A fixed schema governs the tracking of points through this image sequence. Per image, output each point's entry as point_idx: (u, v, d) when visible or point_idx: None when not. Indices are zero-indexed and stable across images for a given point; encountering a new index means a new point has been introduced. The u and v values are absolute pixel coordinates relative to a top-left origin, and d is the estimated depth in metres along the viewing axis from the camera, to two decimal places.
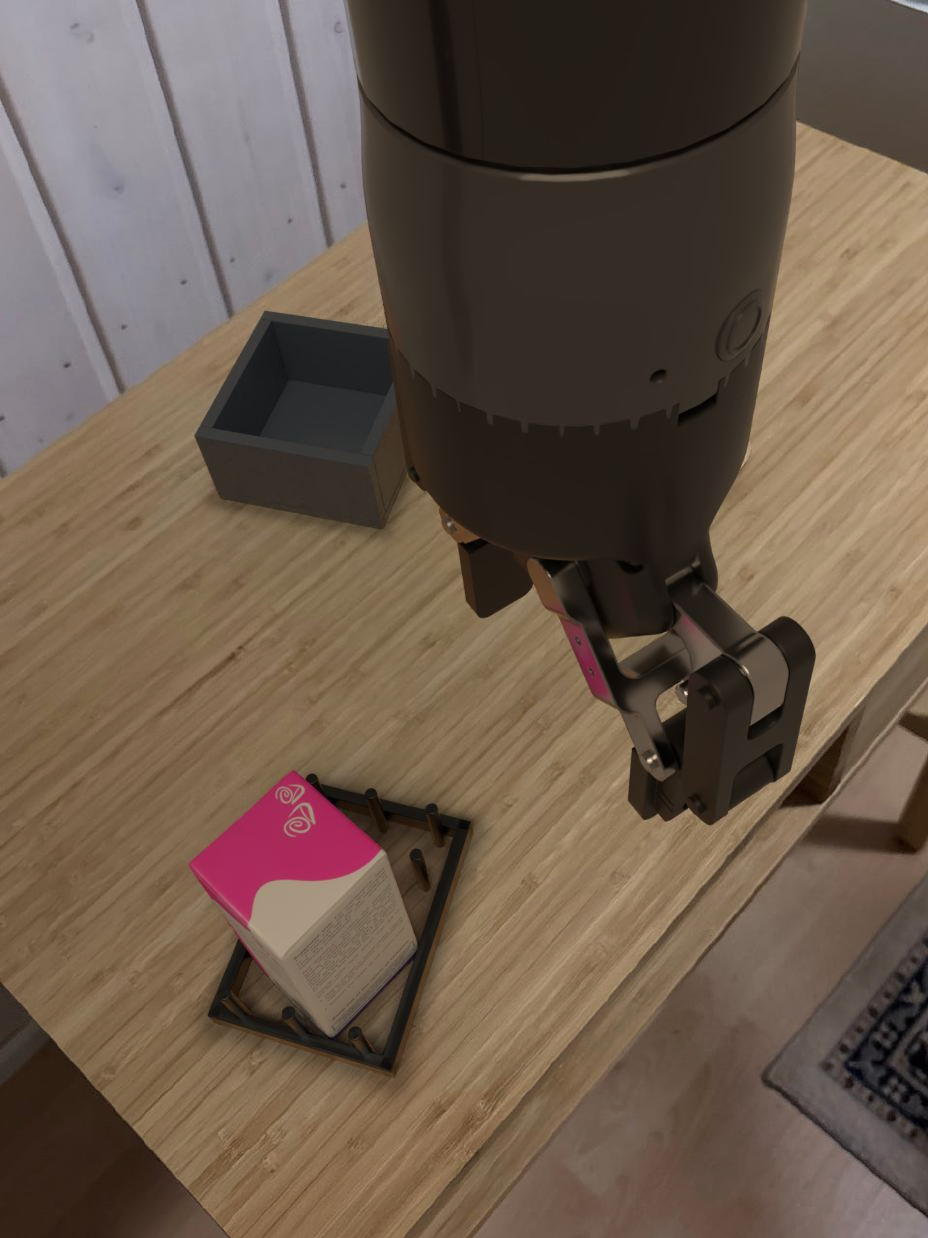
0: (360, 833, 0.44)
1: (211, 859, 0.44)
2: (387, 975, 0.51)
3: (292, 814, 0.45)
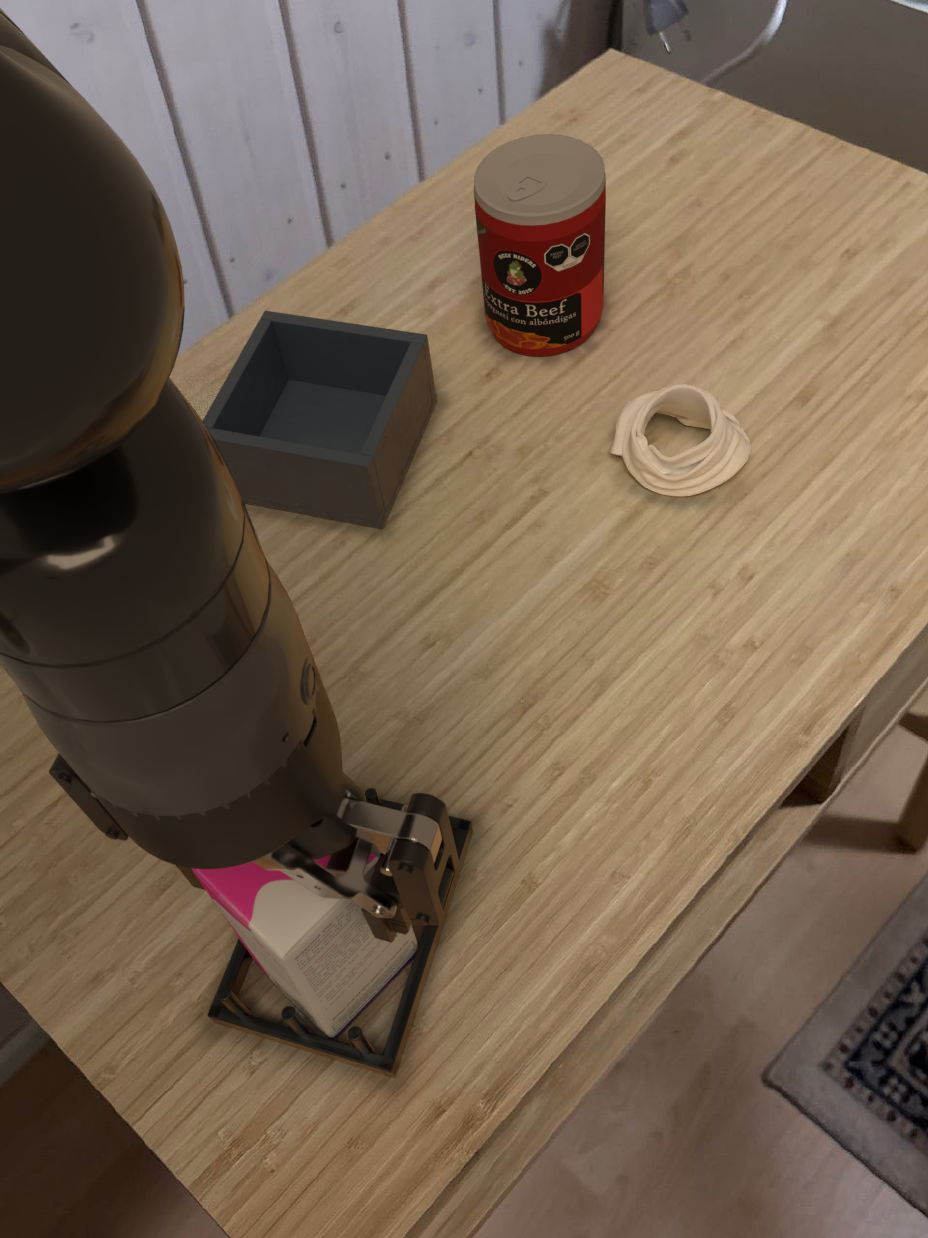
0: None
1: None
2: (387, 975, 0.51)
3: None
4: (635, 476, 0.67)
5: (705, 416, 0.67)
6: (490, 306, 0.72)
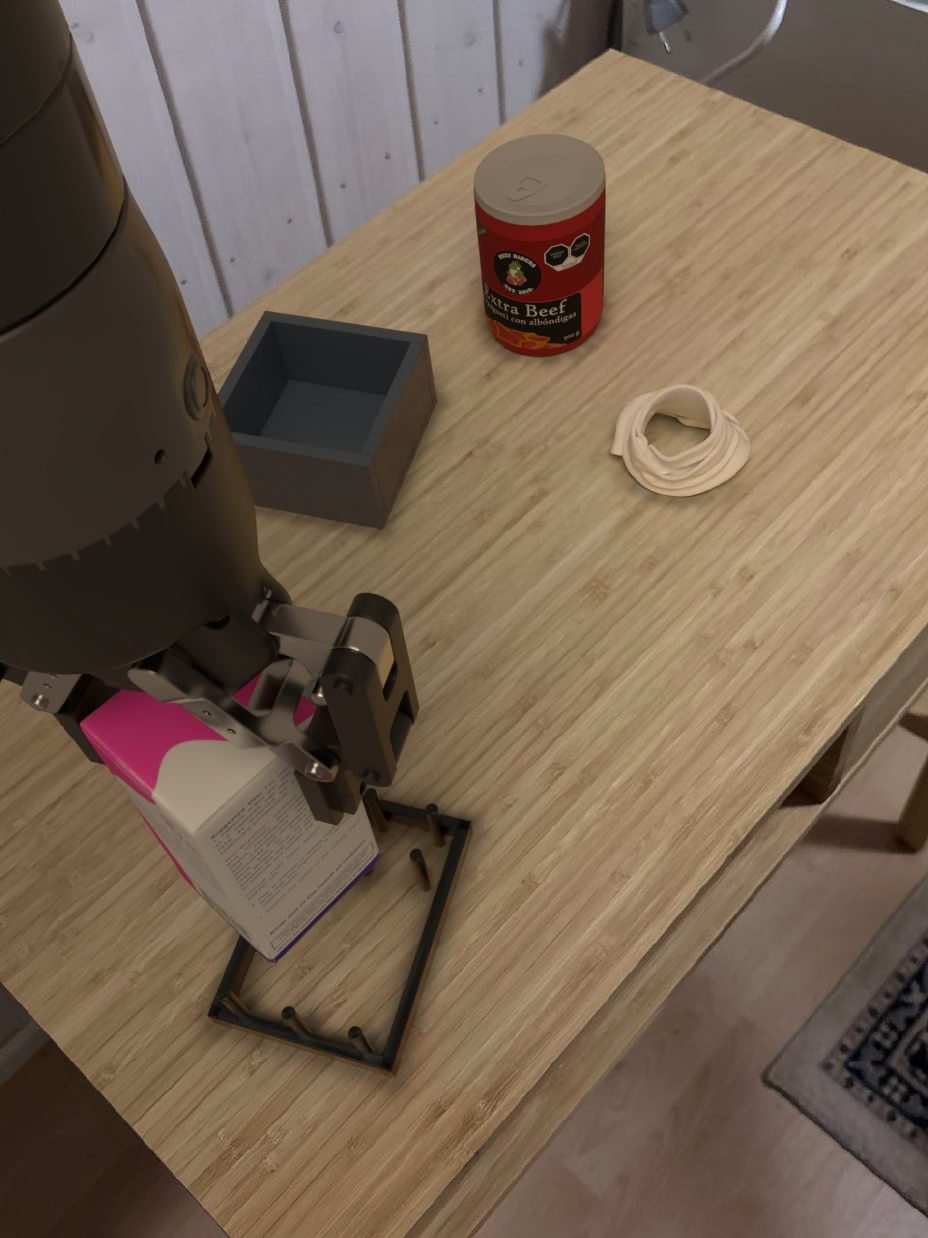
0: None
1: (108, 717, 0.35)
2: (340, 883, 0.42)
3: None
4: (635, 476, 0.67)
5: (705, 416, 0.67)
6: (490, 306, 0.72)
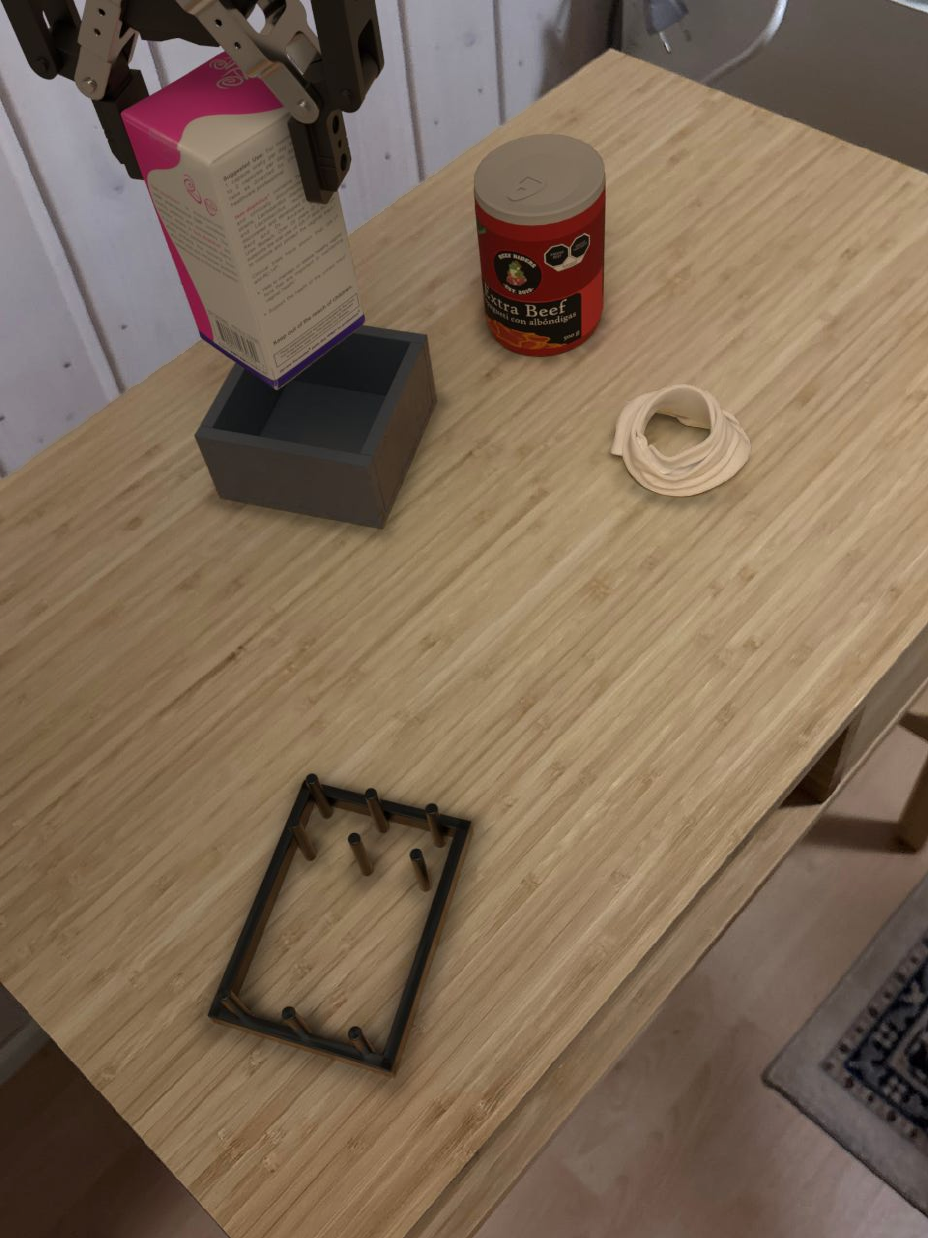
0: None
1: (143, 107, 0.44)
2: (331, 326, 0.51)
3: (225, 75, 0.45)
4: (635, 476, 0.67)
5: (705, 416, 0.67)
6: (490, 306, 0.72)
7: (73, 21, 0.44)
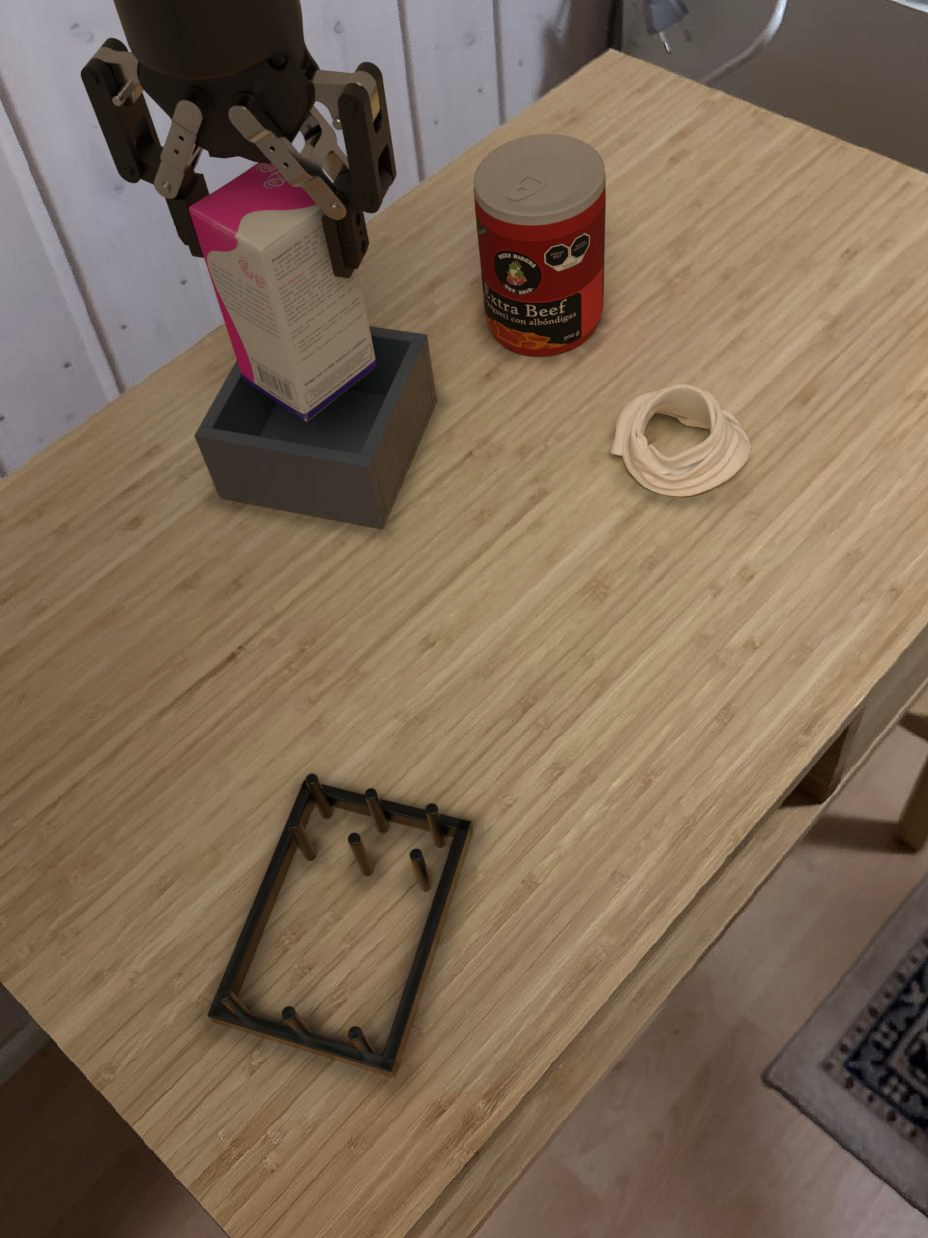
0: None
1: (206, 203, 0.56)
2: (349, 369, 0.64)
3: (270, 177, 0.57)
4: (635, 476, 0.67)
5: (705, 416, 0.67)
6: (490, 306, 0.72)
7: (152, 138, 0.56)
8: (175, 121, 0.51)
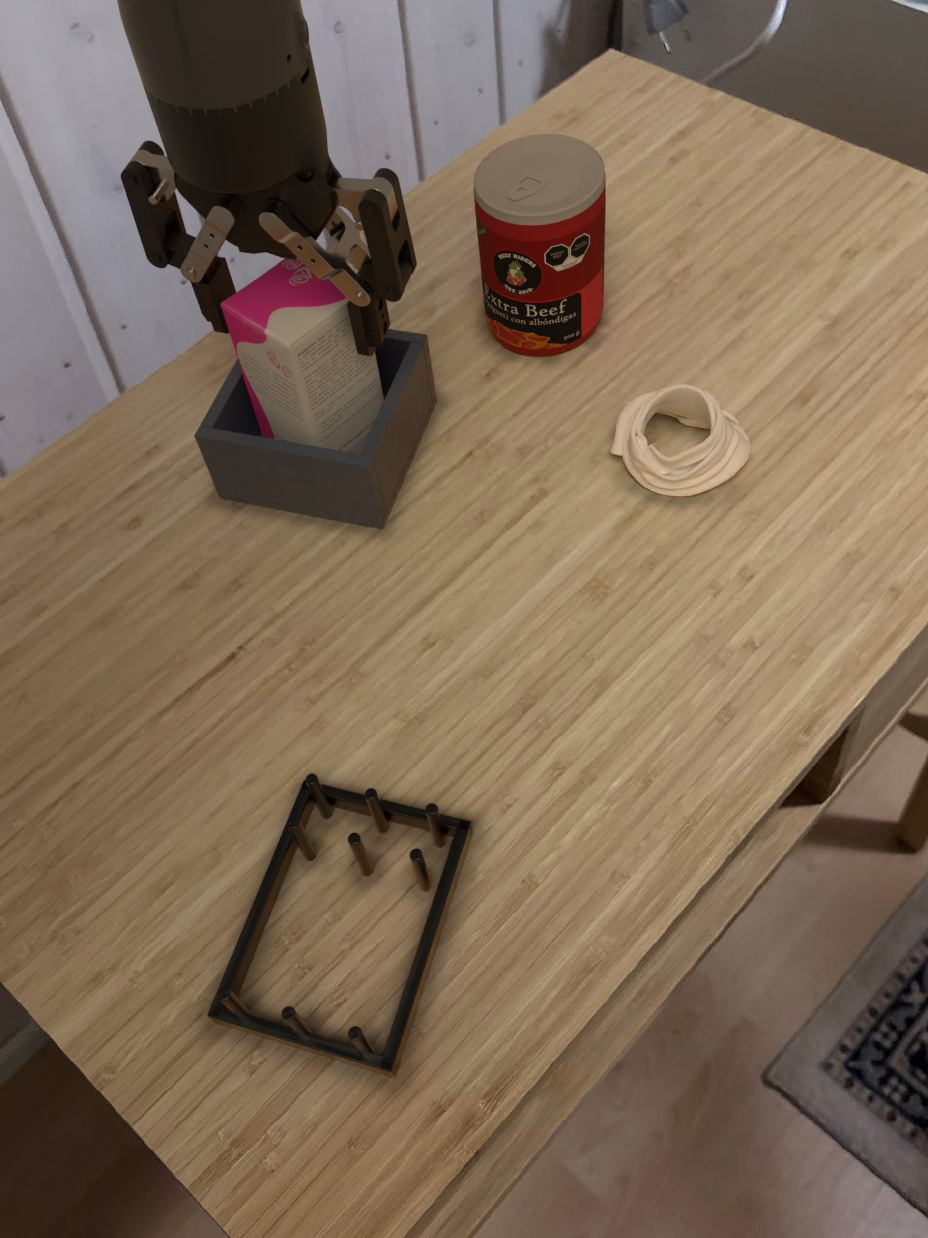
0: None
1: (237, 299, 0.61)
2: None
3: (295, 273, 0.62)
4: (634, 476, 0.67)
5: (705, 416, 0.67)
6: (490, 306, 0.72)
7: (179, 227, 0.60)
8: (209, 223, 0.56)
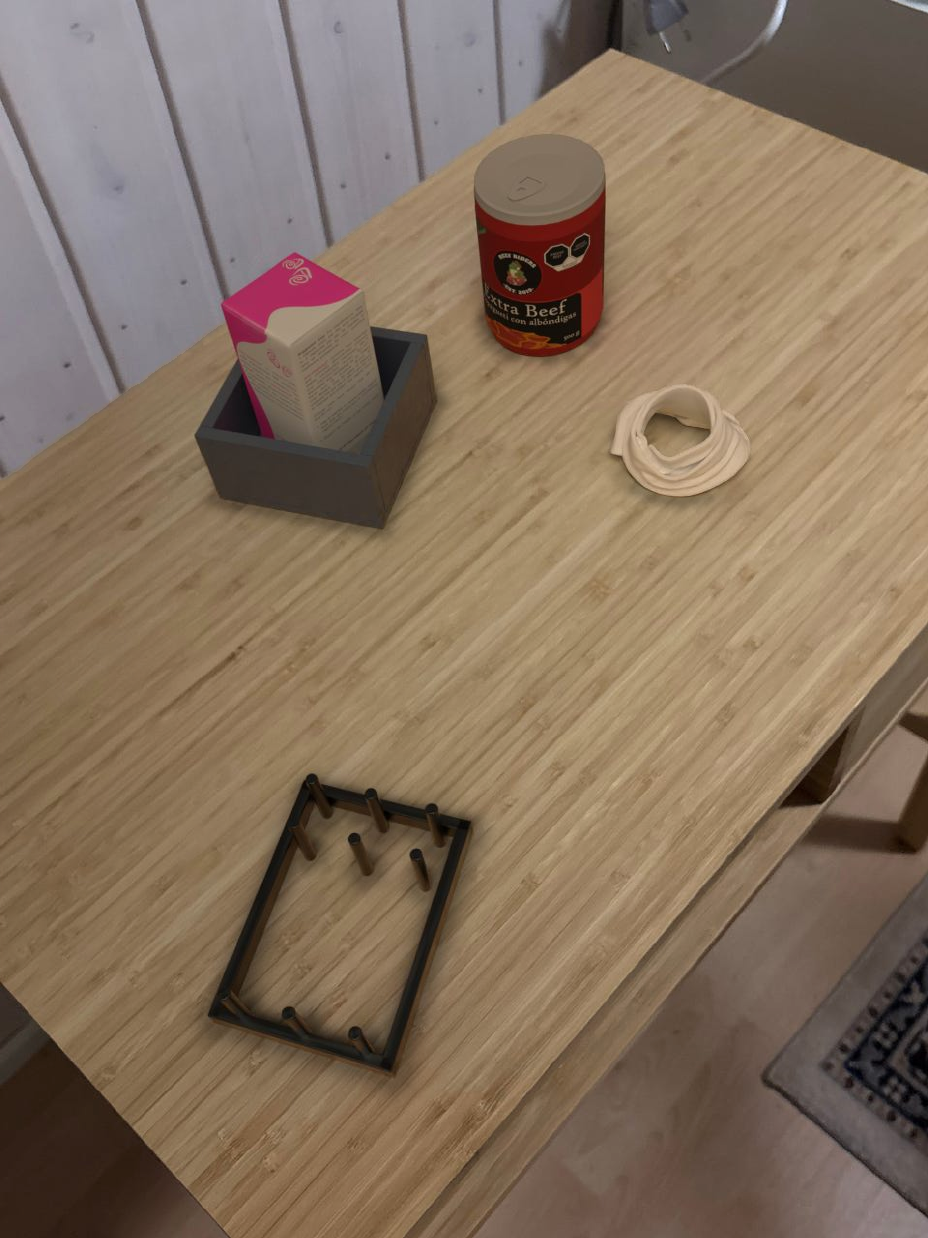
0: (344, 280, 0.62)
1: (237, 299, 0.61)
2: None
3: (295, 273, 0.62)
4: (634, 476, 0.67)
5: (705, 416, 0.67)
6: (490, 306, 0.72)
7: None
8: None
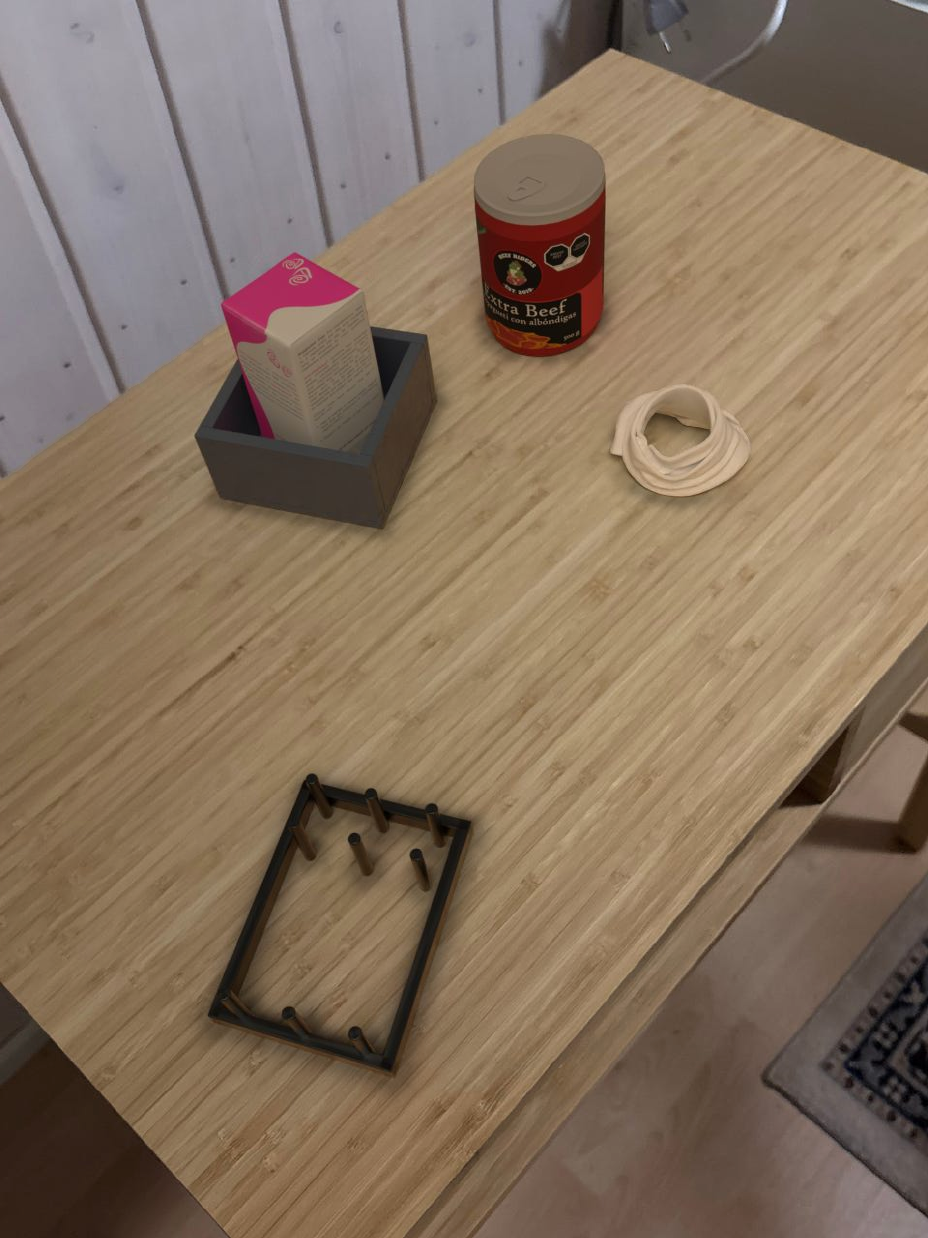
0: (344, 280, 0.62)
1: (237, 299, 0.61)
2: None
3: (295, 273, 0.62)
4: (634, 476, 0.67)
5: (705, 416, 0.67)
6: (490, 306, 0.72)
7: None
8: None
